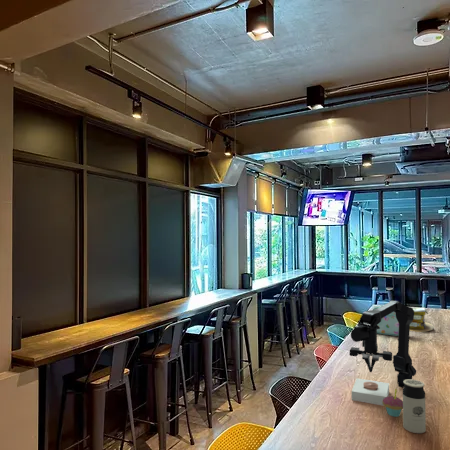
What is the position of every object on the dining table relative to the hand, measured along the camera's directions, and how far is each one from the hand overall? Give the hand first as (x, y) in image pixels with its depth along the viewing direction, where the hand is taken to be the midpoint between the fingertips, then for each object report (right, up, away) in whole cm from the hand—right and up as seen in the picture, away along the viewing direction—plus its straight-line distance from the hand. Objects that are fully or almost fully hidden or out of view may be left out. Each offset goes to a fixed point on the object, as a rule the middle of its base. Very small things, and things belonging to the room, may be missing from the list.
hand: (370, 372), depth 185 cm
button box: (0, -11, -1) cm, 11 cm away
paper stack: (+86, -14, +132) cm, 158 cm away
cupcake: (+2, -11, -20) cm, 22 cm away
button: (0, -10, -1) cm, 10 cm away
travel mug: (+5, -10, -32) cm, 34 cm away
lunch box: (+57, -14, +113) cm, 127 cm away
